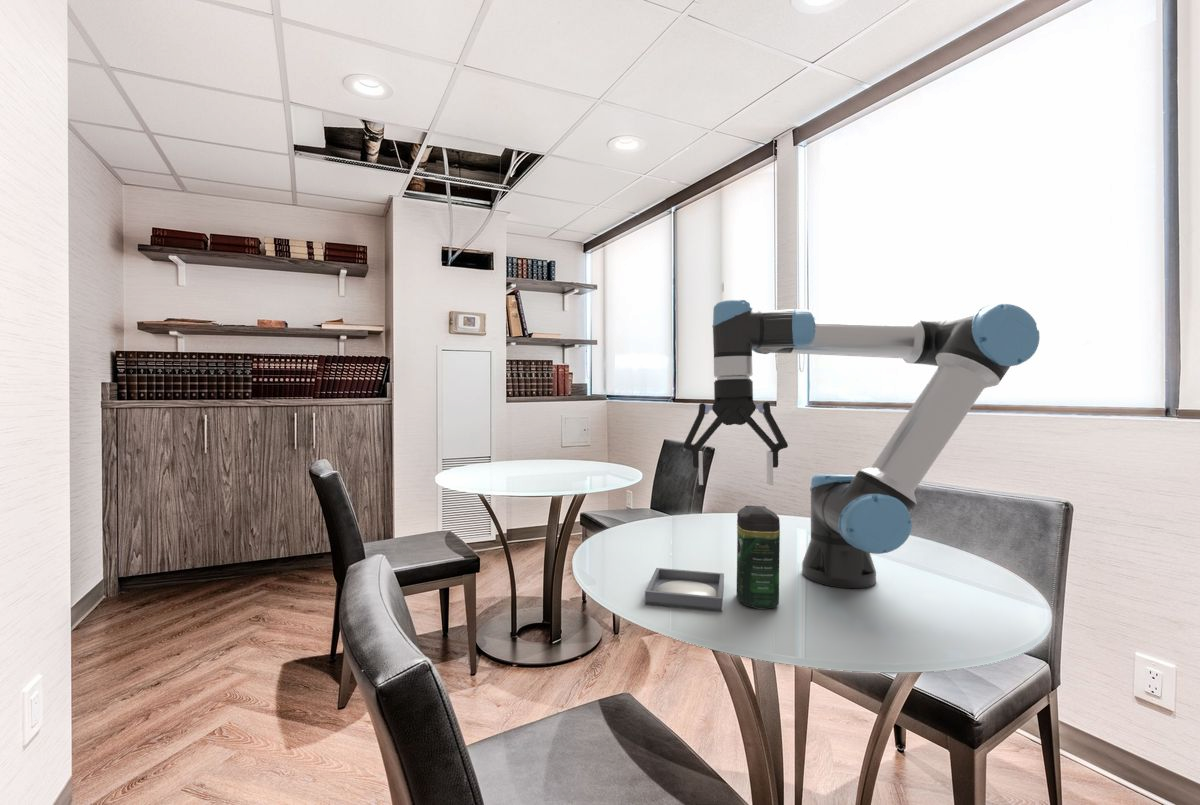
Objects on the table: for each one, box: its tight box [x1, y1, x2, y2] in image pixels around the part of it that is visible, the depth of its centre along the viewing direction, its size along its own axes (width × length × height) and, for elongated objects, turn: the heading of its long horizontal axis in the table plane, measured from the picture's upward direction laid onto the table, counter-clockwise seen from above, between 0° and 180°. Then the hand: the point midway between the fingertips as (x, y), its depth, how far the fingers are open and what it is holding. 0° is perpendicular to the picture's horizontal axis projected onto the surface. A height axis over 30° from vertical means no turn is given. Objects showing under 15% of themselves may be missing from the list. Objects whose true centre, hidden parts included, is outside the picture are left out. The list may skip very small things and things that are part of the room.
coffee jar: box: [736, 505, 781, 610], centre depth 105 cm, size 10×8×19 cm
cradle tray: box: [644, 567, 725, 613], centre depth 109 cm, size 15×15×2 cm
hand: (735, 484), depth 107 cm, fingers open, 13 cm apart
